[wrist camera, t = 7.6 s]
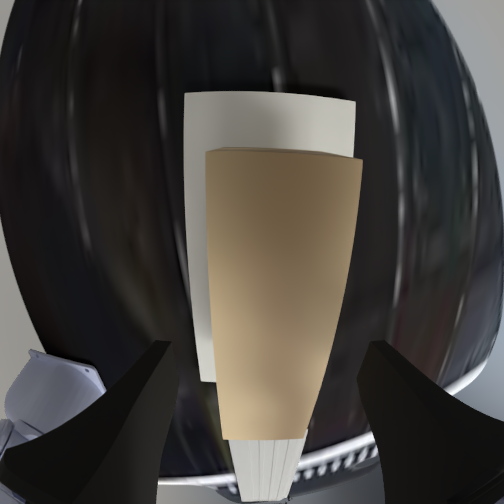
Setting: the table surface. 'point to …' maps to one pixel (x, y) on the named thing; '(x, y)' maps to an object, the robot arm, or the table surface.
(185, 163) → the peg rack
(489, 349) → the table surface
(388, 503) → the robot arm
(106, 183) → the table surface
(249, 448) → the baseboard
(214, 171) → the tan block
